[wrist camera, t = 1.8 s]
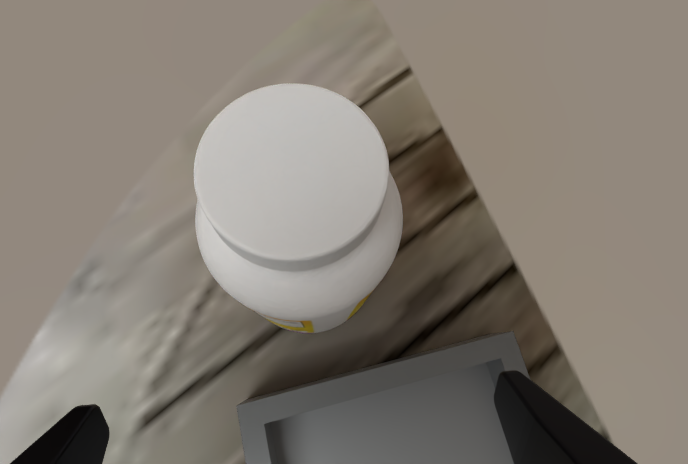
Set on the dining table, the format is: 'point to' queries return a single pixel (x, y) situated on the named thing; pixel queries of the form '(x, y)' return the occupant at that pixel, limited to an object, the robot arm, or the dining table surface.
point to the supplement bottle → (296, 205)
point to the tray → (390, 411)
